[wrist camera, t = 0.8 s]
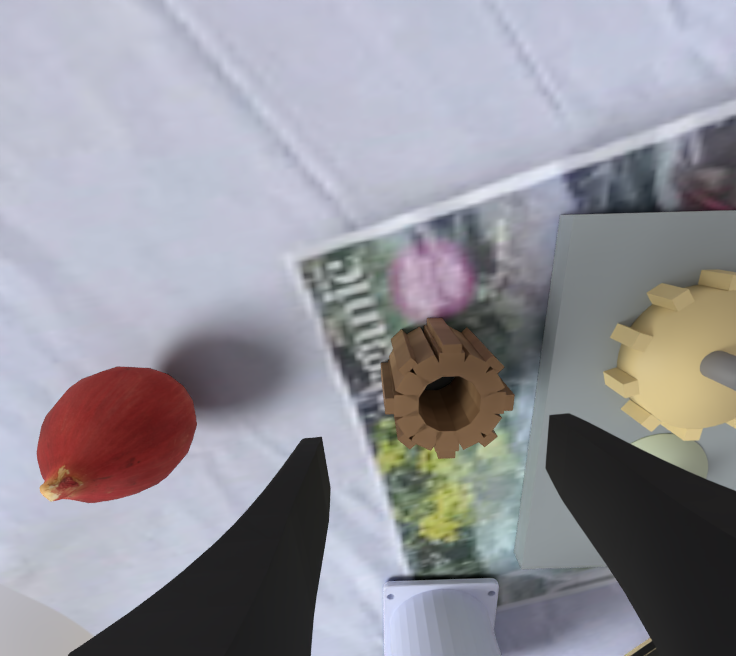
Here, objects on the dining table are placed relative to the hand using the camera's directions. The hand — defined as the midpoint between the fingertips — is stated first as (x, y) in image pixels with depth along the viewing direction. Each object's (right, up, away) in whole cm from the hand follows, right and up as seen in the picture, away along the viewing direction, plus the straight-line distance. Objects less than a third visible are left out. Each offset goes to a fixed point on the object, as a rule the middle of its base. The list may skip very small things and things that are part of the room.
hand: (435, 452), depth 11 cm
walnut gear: (+2, +2, +8) cm, 9 cm away
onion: (-13, 0, +9) cm, 16 cm away
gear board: (+15, -1, +9) cm, 17 cm away
